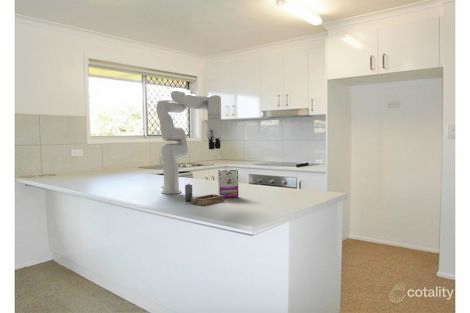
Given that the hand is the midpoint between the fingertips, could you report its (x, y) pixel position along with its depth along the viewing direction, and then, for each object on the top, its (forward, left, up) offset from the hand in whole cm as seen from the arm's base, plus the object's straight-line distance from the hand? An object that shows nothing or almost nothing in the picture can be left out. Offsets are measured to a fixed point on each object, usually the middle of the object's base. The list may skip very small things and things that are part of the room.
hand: (214, 149), depth 190 cm
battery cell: (-11, -10, -29) cm, 33 cm away
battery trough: (0, -6, -29) cm, 30 cm away
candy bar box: (-1, +12, -29) cm, 32 cm away
